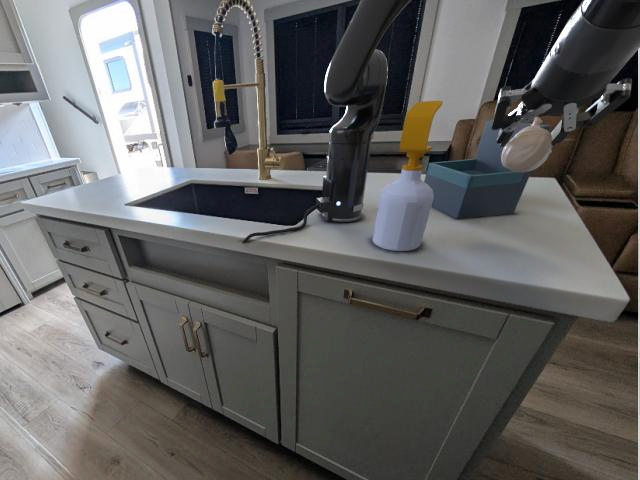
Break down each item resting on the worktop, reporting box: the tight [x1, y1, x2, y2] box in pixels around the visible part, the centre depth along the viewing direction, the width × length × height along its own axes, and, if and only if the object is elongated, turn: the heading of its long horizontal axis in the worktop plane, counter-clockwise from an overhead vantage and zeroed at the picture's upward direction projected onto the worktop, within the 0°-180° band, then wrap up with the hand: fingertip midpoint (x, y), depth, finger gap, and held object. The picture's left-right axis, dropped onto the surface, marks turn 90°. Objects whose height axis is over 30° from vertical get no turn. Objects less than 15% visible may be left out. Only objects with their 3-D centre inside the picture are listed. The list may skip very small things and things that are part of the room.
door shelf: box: [423, 119, 552, 220], centre depth 73 cm, size 14×16×18 cm
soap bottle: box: [372, 100, 443, 252], centre depth 57 cm, size 9×9×25 cm
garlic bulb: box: [501, 117, 555, 172], centre depth 50 cm, size 7×6×8 cm
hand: (525, 141), depth 51 cm, fingers closed on garlic bulb, 5 cm apart
